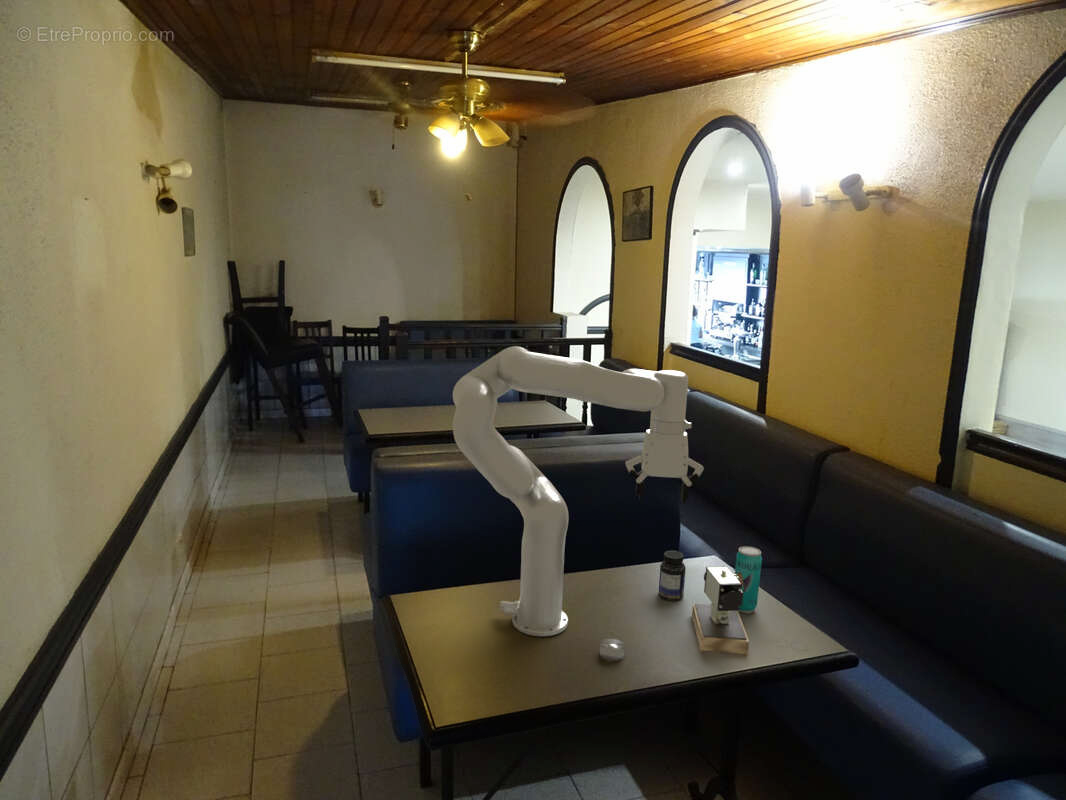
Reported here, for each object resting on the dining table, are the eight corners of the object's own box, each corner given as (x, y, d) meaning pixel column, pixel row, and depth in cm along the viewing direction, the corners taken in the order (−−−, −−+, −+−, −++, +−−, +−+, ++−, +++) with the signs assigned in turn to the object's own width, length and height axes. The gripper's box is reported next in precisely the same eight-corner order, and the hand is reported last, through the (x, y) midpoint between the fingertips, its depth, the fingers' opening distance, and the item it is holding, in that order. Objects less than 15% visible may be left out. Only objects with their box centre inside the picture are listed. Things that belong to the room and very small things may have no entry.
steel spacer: (599, 661, 152) (600, 650, 152) (599, 648, 157) (600, 637, 156) (623, 663, 152) (624, 652, 151) (623, 650, 157) (623, 639, 156)
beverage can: (727, 608, 176) (732, 550, 173) (738, 600, 180) (744, 543, 177) (749, 617, 172) (755, 557, 169) (760, 609, 176) (766, 550, 173)
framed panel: (700, 650, 157) (701, 636, 156) (691, 616, 172) (693, 602, 171) (747, 654, 156) (749, 639, 156) (735, 619, 171) (736, 605, 170)
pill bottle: (668, 587, 186) (671, 547, 183) (688, 596, 181) (691, 555, 179) (653, 595, 181) (656, 553, 179) (673, 604, 177) (676, 561, 175)
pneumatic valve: (718, 634, 157) (723, 582, 155) (700, 607, 169) (704, 559, 166) (743, 633, 158) (748, 582, 155) (723, 607, 169) (727, 558, 167)
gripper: (704, 424, 165) (698, 496, 169) (627, 420, 167) (622, 492, 170) (709, 432, 158) (702, 508, 162) (628, 428, 159) (623, 503, 163)
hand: (661, 499), depth 166 cm, fingers open, 9 cm apart
